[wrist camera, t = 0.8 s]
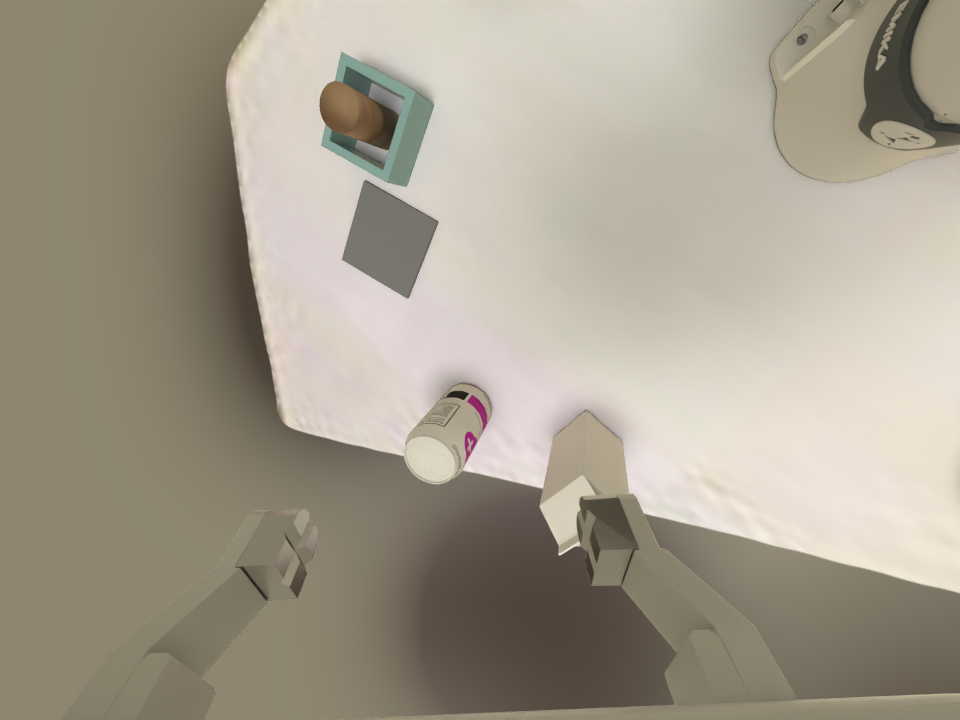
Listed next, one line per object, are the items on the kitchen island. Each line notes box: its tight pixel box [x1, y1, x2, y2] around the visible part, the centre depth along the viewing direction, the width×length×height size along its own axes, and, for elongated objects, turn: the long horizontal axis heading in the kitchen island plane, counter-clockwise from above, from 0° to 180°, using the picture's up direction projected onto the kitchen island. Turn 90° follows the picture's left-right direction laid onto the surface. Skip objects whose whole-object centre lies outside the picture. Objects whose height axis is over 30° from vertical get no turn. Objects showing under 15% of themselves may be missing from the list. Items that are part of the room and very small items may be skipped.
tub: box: [321, 52, 434, 187], centre depth 44 cm, size 10×10×5 cm
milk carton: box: [540, 411, 629, 555], centre depth 44 cm, size 7×7×19 cm
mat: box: [342, 181, 438, 298], centre depth 51 cm, size 12×12×1 cm
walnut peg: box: [320, 81, 399, 150], centre depth 41 cm, size 4×4×10 cm
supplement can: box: [404, 384, 491, 484], centre depth 50 cm, size 8×8×15 cm
